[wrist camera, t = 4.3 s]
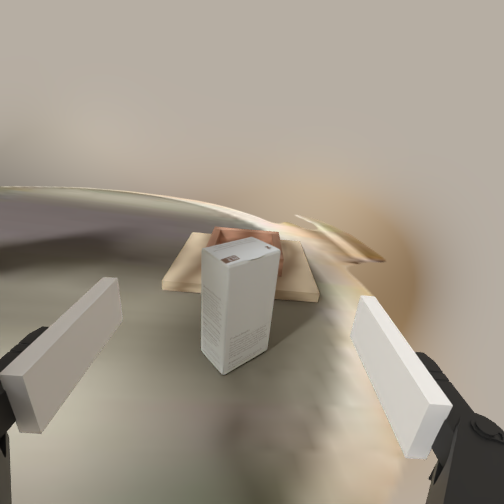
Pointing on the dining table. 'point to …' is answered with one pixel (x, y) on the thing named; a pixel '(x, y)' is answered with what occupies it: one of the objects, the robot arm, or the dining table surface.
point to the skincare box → (237, 300)
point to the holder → (189, 259)
